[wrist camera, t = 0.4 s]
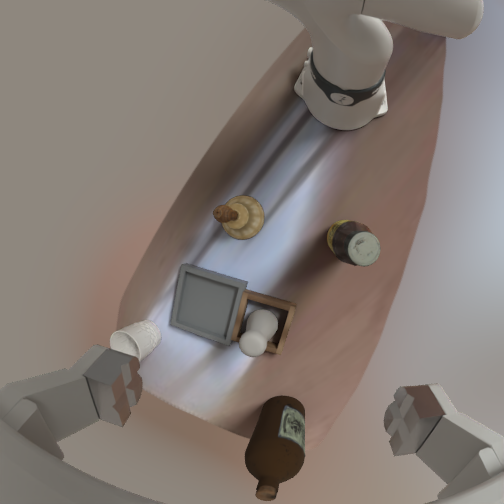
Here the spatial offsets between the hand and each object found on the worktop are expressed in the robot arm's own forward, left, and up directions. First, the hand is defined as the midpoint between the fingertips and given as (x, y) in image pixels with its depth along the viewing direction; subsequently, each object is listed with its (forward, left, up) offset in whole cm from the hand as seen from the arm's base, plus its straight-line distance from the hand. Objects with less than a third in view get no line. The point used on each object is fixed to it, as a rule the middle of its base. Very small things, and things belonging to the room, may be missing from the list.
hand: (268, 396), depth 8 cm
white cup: (+26, -28, -45) cm, 59 cm away
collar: (+14, -4, -45) cm, 47 cm away
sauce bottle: (-5, +6, -45) cm, 46 cm away
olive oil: (+34, +6, -45) cm, 57 cm away
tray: (+14, -15, -45) cm, 50 cm away
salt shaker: (+14, -4, -45) cm, 48 cm away
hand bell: (-4, -13, -45) cm, 47 cm away
